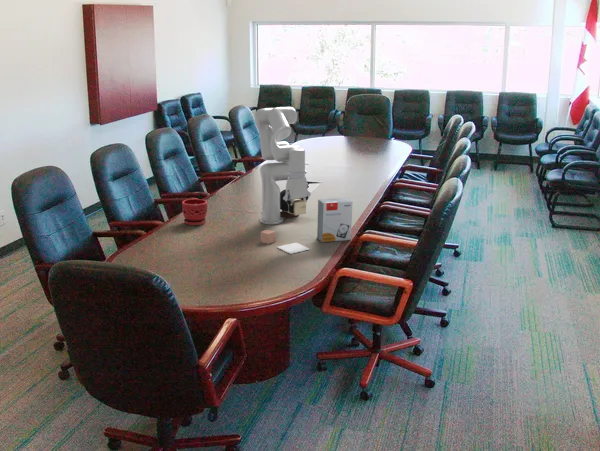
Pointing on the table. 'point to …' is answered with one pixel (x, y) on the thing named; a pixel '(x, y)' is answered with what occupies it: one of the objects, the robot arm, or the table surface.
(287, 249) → the felt coaster
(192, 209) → the plant pot
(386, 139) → the table surface
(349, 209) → the hard drive box
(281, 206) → the black ball on stand
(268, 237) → the terracotta block
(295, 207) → the maple block
